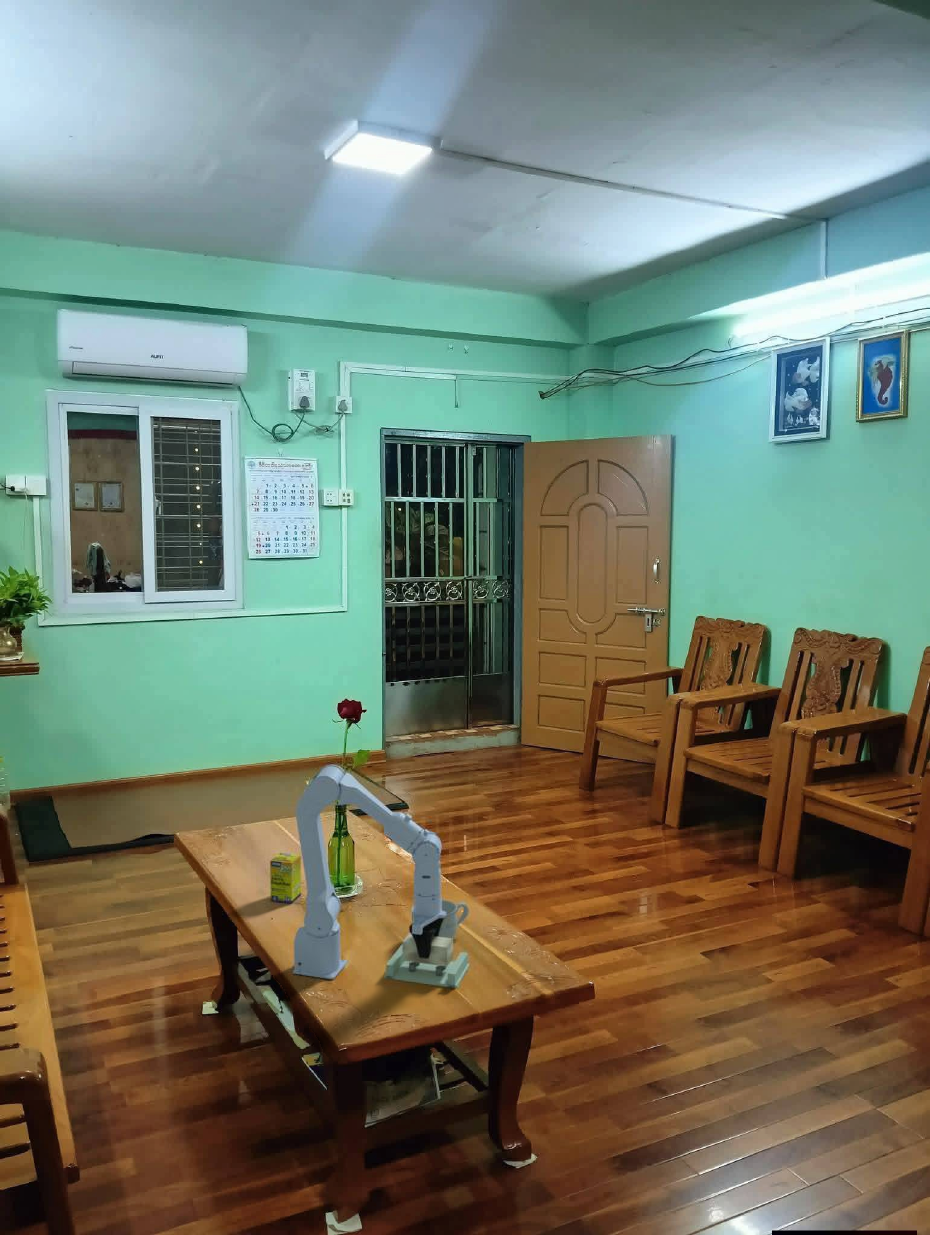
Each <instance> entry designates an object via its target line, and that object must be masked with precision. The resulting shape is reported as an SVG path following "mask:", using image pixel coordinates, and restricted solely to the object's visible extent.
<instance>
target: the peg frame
mask: <svg viewBox="0 0 930 1235" xmlns="http://www.w3.org/2000/svg"><path fill="white" fill-rule="evenodd" d="M470 967H471V963H469V952H463V951H461V952H459V954H458V956H457V958H456V959H455V961H453V960H451V961H450V963H449V965H448V966H447V967H446V966H439V965H432V964H425V963H418V962H410V961H403V960H402V944H401V945H400V946H399V948H398V949H397V950H396V951H395V952H394V954H393V955H392V956H391V958H390V959H389V960H388V961H387V963H386V964H385V974H384V975H383V976H384V979H390V980H396V981H403V982H409V983H410V982H411V983H417V984H424V985H431V986H436V987H445V988H449V989H450V988H453V989H458V988H459V985H461V983H462V980H463V979H464V977H465V976H466V974H467V972H468V970H469V968H470Z"/></svg>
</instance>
